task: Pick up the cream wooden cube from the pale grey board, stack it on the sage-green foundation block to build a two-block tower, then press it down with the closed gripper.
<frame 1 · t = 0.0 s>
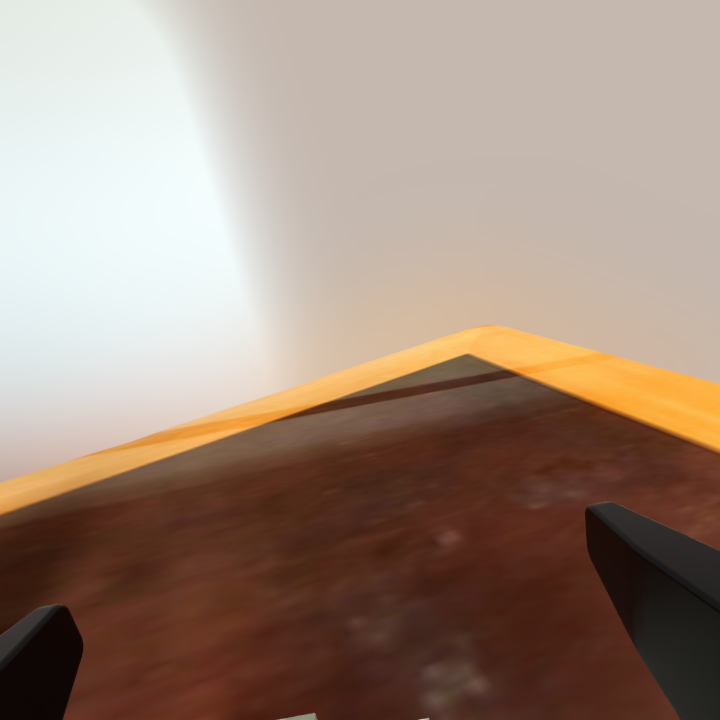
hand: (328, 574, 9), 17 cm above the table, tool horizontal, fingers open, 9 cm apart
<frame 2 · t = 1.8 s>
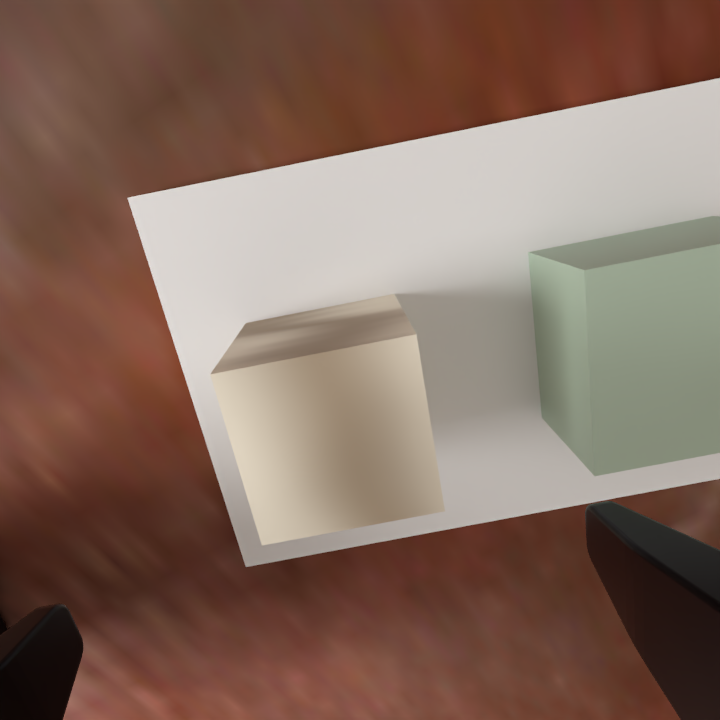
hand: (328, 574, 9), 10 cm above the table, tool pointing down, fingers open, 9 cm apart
pale grey board: (470, 342, 19), on the table
green foundation block: (622, 322, 17), resting on pale grey board
cream block: (335, 378, 18), point 1 cm above the table, touching pale grey board
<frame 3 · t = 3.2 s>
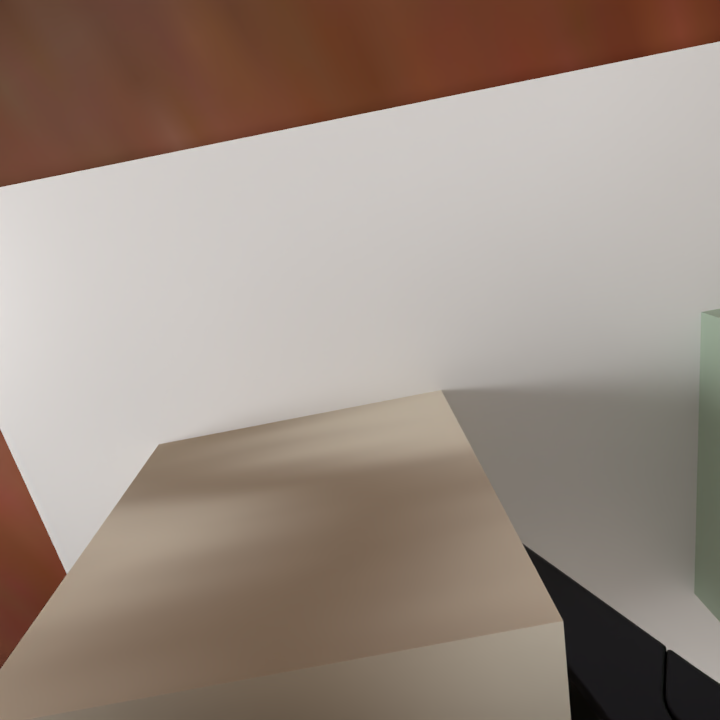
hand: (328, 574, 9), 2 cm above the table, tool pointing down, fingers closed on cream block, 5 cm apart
pale grey board: (568, 460, 11), on the table
cream block: (328, 535, 10), point 1 cm above the table, touching gripper, pale grey board
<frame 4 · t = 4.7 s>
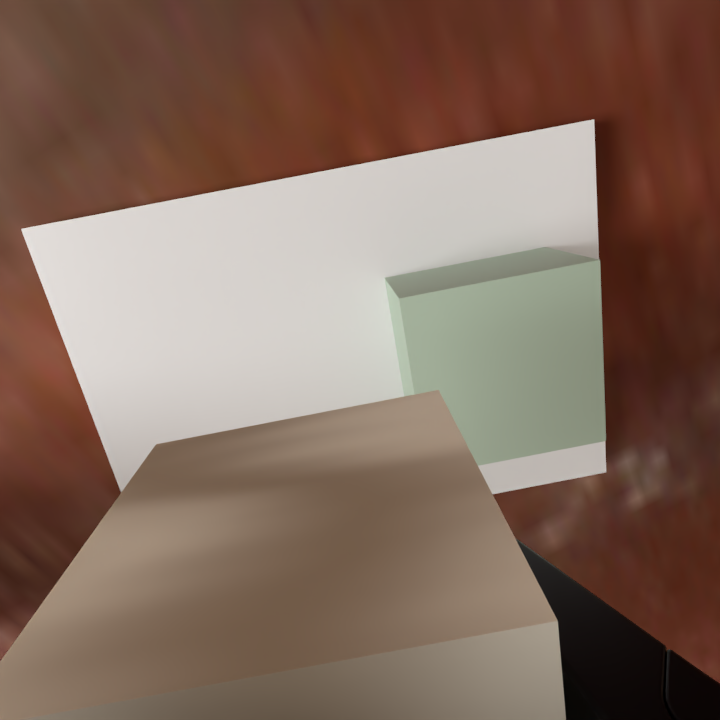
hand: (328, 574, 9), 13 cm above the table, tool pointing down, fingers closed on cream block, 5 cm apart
pale grey board: (345, 356, 21), on the table
green foundation block: (473, 339, 20), resting on pale grey board
cream block: (326, 535, 10), point 12 cm above the table, touching gripper
when the fingers open (7 cm above the table, at t = 6.2 s): cream block drops 1 cm, resting on green foundation block.
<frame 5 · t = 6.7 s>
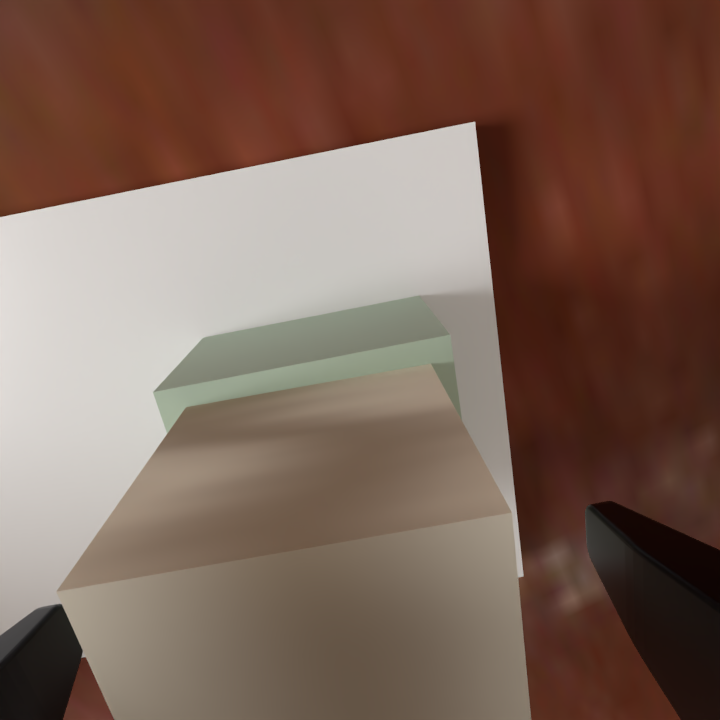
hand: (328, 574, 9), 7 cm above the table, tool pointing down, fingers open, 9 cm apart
pale grey board: (175, 432, 16), on the table
green foundation block: (333, 415, 15), resting on pale grey board
cream block: (331, 491, 11), point 5 cm above the table, touching green foundation block
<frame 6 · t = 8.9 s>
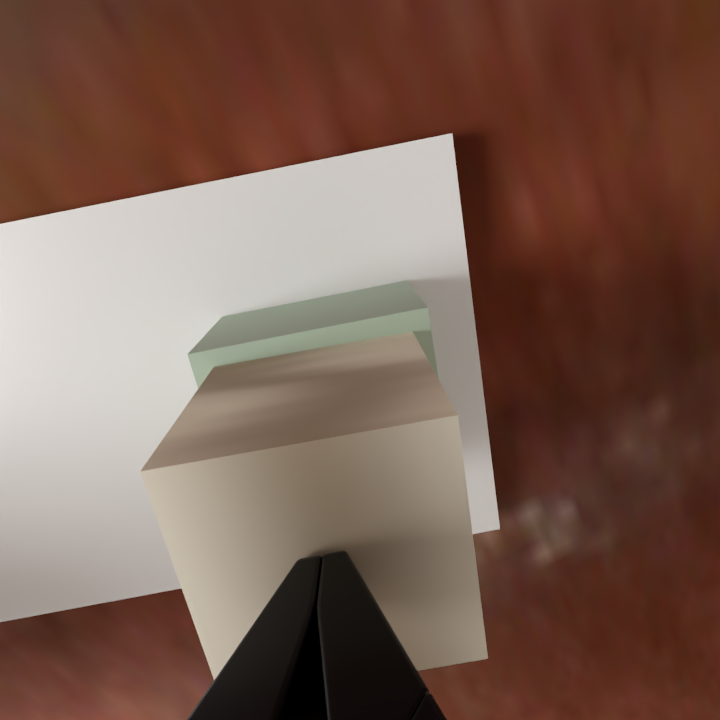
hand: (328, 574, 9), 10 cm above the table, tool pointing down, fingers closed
pale grey board: (196, 401, 18), on the table
green foundation block: (333, 384, 17), resting on pale grey board
cream block: (331, 438, 13), point 5 cm above the table, touching green foundation block
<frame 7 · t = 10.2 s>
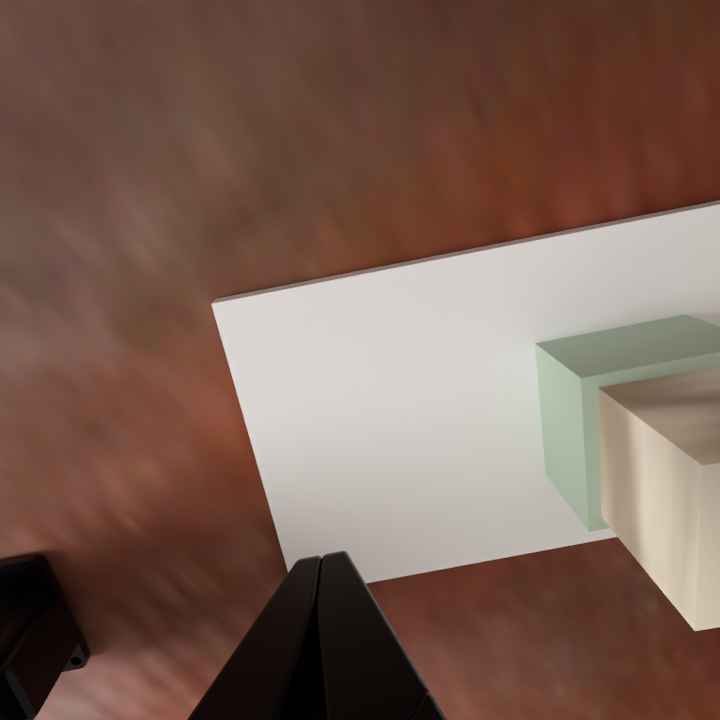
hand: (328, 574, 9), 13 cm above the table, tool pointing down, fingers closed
pale grey board: (486, 410, 22), on the table
green foundation block: (612, 397, 21), resting on pale grey board
cream block: (672, 442, 17), point 5 cm above the table, touching green foundation block
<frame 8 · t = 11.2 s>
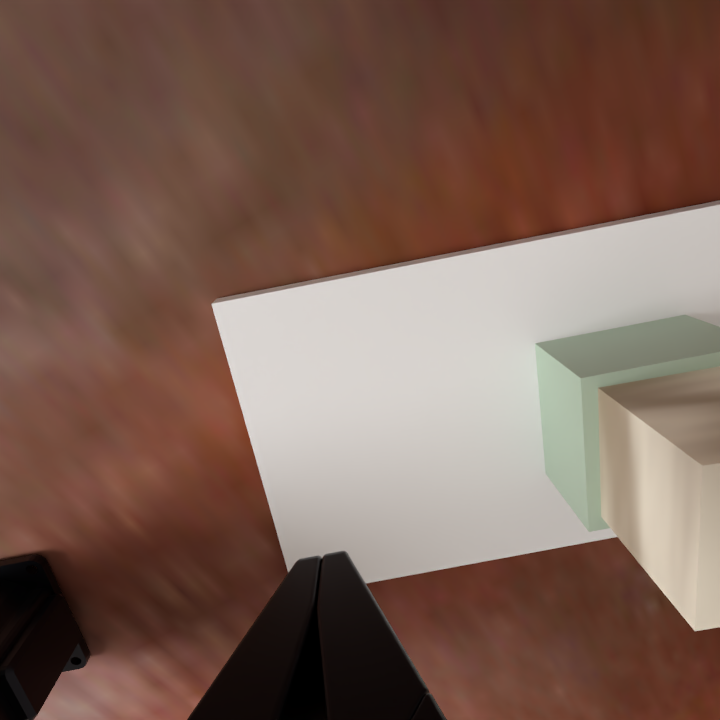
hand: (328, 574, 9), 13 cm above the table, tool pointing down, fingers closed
pale grey board: (486, 410, 22), on the table
green foundation block: (612, 397, 21), resting on pale grey board
cream block: (672, 442, 17), point 5 cm above the table, touching green foundation block
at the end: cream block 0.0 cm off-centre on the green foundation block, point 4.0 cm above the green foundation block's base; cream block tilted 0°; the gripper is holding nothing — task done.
